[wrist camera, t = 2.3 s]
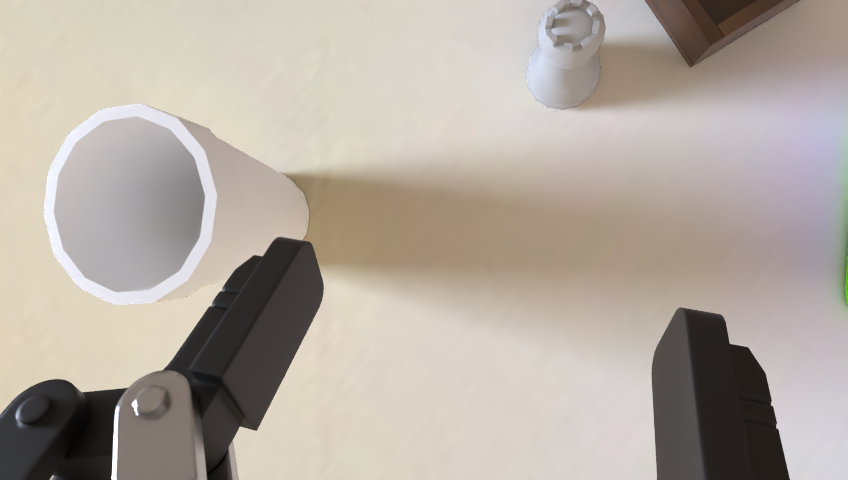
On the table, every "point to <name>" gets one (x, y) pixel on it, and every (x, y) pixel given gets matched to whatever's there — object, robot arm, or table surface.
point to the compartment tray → (711, 22)
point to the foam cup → (161, 206)
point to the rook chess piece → (566, 54)
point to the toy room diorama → (846, 280)
